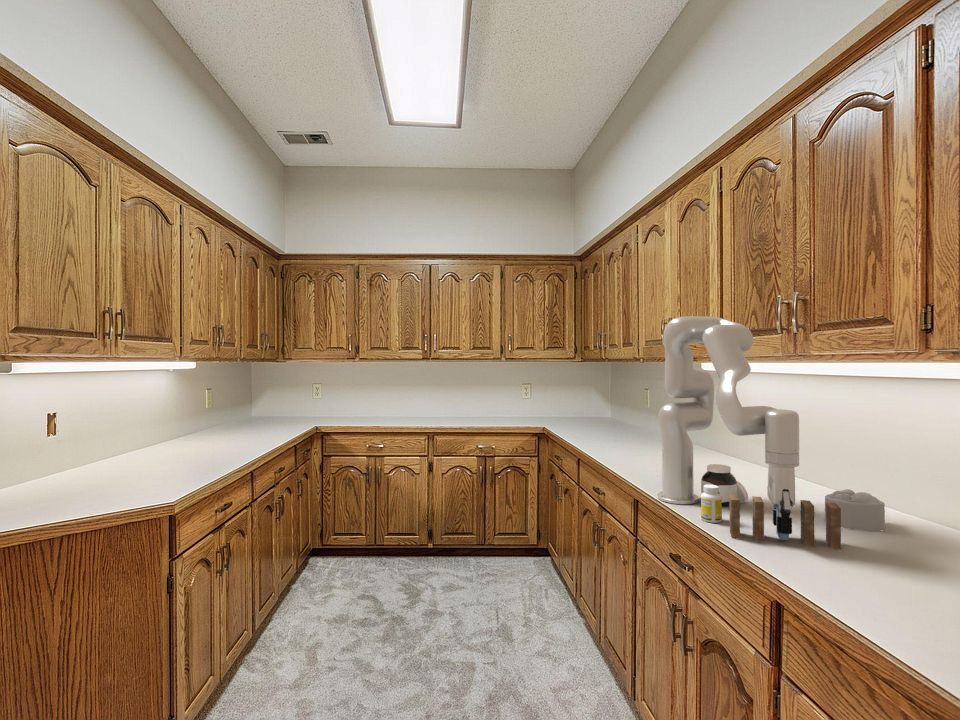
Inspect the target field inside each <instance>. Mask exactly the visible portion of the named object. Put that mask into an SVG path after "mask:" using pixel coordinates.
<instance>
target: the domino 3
mask: <svg viewBox="0 0 960 720" xmlns="http://www.w3.org/2000/svg"><path fill="white" fill-rule="evenodd" d="M799 503H800V506H799V507H800V540H801V542H802V544H804V546H806V547H815V546H816V545H815V539H816V538H815V537H816V536H815V505H814V504H813V503H812V502H811V501H810V500H806V499H800V502H799Z"/></svg>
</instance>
